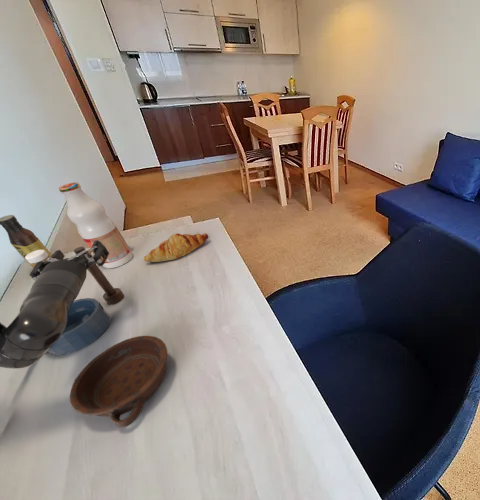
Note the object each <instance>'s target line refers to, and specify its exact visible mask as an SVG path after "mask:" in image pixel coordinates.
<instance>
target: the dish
mask: <svg viewBox="0 0 480 500" xmlns="http://www.w3.org/2000/svg"><path fill="white" fill-rule="evenodd" d="M167 359H168V348H167V345H166V343H165V342H164V341H163V340H162V339H161V338H159V337H156V336H153V335H139V336H134V337H130V338H127V339H124V340H122V341H119V342H117V343H116V344H114V345H112V346H110V347H108V348H107V349H105V350H104V351H102V352H101V353H100V354H98V355H96V356H95V357H94V358H93V359H92V360H91V361H90V362H88V363H87V364H86V365H85V367H84V368H83V369H81V371H80V372H79V374H78V375H77V376H76V378H75V379H74V381H73V383H72V386H71V388H70V391H69V403H70V406H71V407H72V409H73V410H74V411H75V412H76V413H79V414H81V415H85V416H86V415H88V416H98V417H109V418H110V420H111V422H112V423H113V424H114V425H115V426H117V427H119V428H126V427H128V426H130V425H131V424H132V423H134V422H135V421H136V420H137V419H138V417H139V416H140V415H141V413H142V410H143V407H144V404H145V402H146V401H147V400H148V399H149V398H150V397H151V396H152V395H153V394H154V393H155V392H156V391H157V390H158V388H159V387H160V385H161V383H162V382H163V380H164V378H165V375H166V372H167V363H168V362H167V361H168V360H167ZM130 411H131V413H129V415H128V416H126V417H125V418H123V419H121V416H122V415H124V414H126V413H128V412H130Z"/></svg>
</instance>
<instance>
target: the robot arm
mask: <svg viewBox="0 0 480 500" xmlns="http://www.w3.org/2000/svg"><path fill="white" fill-rule="evenodd" d="M85 250H86V251H85ZM85 250H84V251H82V252H80V253H79V254H77V255H76V254H75V255H73V256H70V257H67V258H66V257H65V254H64V252H62V250H60V249H58V250H55V251H54V253H51V255H52V256H51V257H50V258H48V259H46V261H45V262H42V261H40V262H37V263H36V265H35V266H34V268H32V270H31V271H30V272H29V276H30V277H31V279H33V280H34V282H33V283H32V285H31V288H30V291H29V293H27V296H25V298H24V300H23V302H22V303H21V305H20V308H19V312H18V313H17V315H16V316H15V317H14V319H13V320H12V321H11V323H10V324H8V326H6V325H4V324H3V323H2V322H1V321H0V368H4V369H13V370H17V369H24V368H28V367H31V366H33V365H35V364H36V363H37V362H39V361H40V360H41V359H42V358H43V357H44V356H45V355H46V353H47V352H48V350H49V349H50V348H51V347H52V346H53V344H54V343H55V342H56V341H57V340H58V339H59V338H60V336H61V335H62V333H63V332H64V330H65V328H66V325H67V320H68V312H69V310H70V308H71V306H72V303H73V301H75V300H77V297H78V295H79V294H80V292H81V290H82V288H83V286H84V283H85V281H86V279H87V271H88V268H89V267H90V266H91V265H93V264H96V265H97V266H98V267H103V266H102V265H103V264H104V263H105V261H106V259H107V257H108V255H109V252H108V250H107V249H106V247H105V246H104V245H102V243H101V242H99V241H98V240H97V241H94V243H93V245H92V247H91V248H89V249H85ZM93 252H94V253H95V255H94V254H93ZM84 255H85V257H86V258H87V259H88V260H87V259H85V258H84V257H82V256H84Z"/></svg>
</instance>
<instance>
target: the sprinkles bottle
mask: <svg viewBox="0 0 480 500" xmlns="http://www.w3.org/2000/svg"><path fill="white" fill-rule="evenodd" d="M48 258H50V257H49V255H48V254H47V252H46V251H45V250H36V251H33V252H31V253H29V254H28V255H26V257H25V259H26V260H27V261H28V262H29V263H30V264H32V265H33V267H34V266H35V265H36V263H37V262H40V261H42V262H45V261H46V259H48ZM25 259H24V260H25ZM26 260H25V261H26ZM27 261H26V262H27ZM28 262H27V263H28ZM29 263H28V264H29ZM30 264H29V265H30Z"/></svg>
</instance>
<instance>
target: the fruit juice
mask: <svg viewBox="0 0 480 500" xmlns="http://www.w3.org/2000/svg"><path fill="white" fill-rule="evenodd" d="M58 191H59V192H60V193H61V194H62V195H63V196H64V198H65V200H66V205H67V209H66V216H67V218H68V219H69V221H70V222H72V223H73V224H74V225H75V226H76V230H77V232H78V234H79V235H80V237H81V239H82V240H83V241H84V242H85V244H86V246H87V247H88V248H89V249H90V248H91V247H92V245H93V243H94V241H97V240H98V241H99V242H101V243H102V245H104V246H105V247H106V249H107V250H108V252H109V255H108V257H107V259H106V261H105V263H104V264H103V265H102V266H101V267H103V268H105V269H114V268H118V267H121V266H123V265H125V264H127V263H128V262H130V261H131V260H132V258H133V257H134V254H133V251H132V249H131V248H130V246H129V244H128V243H127V241H126V240H125V239H124V236H123V235H122V233H121V232H120V231H119V229H118V227H117V226H116V224H115V222H114V221H113V219H112V218H111V217H110V216H108V215H107V214H106V209H105V207H104V206H103V205H102V203H100V202H99V201H97V200H95V199H93V197H92V198H91V196H89V195H88V194H87V193H86V192H84V190H83V189H82V186H81V185H80V183H79V182H76V181H75V182H69V183H66V184H63V185H60V187H58ZM92 255H95V253H94V252H92Z"/></svg>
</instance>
